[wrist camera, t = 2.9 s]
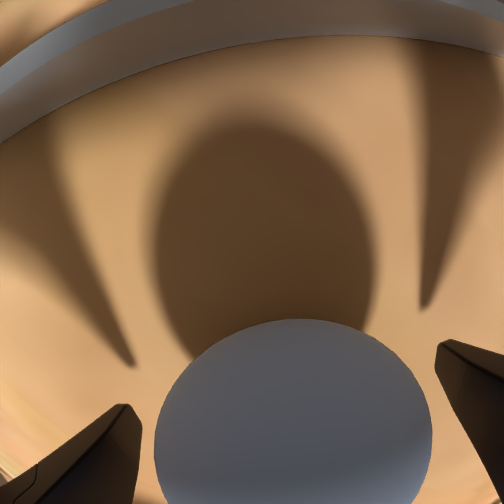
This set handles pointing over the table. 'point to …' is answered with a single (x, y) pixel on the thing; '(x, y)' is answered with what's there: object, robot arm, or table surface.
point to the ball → (294, 421)
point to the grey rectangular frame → (213, 39)
